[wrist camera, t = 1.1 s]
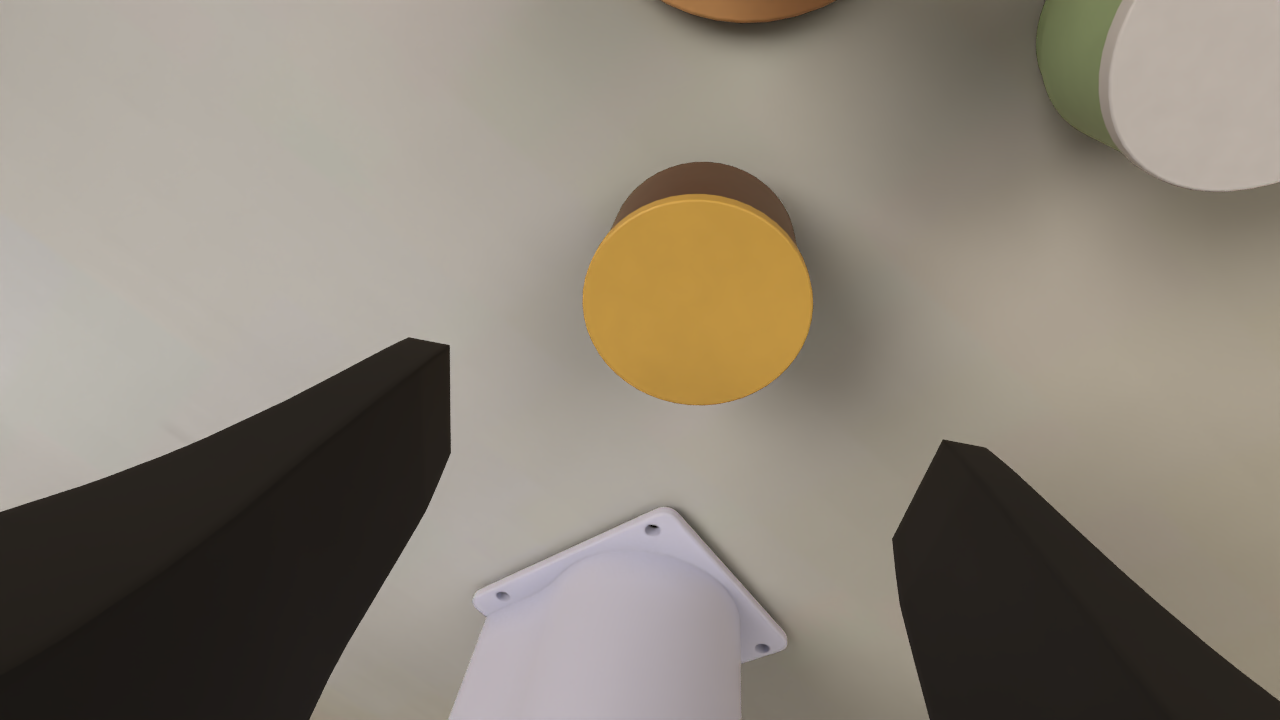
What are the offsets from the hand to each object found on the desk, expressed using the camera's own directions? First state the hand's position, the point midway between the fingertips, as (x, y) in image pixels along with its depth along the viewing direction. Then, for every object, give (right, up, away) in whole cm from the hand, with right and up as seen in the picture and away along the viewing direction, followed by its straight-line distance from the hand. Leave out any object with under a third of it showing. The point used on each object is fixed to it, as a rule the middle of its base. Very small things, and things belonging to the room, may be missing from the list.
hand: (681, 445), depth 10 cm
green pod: (+10, +8, +4) cm, 13 cm away
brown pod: (+1, +4, +7) cm, 9 cm away
